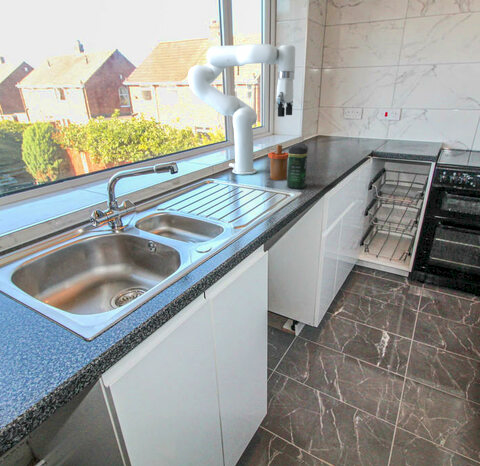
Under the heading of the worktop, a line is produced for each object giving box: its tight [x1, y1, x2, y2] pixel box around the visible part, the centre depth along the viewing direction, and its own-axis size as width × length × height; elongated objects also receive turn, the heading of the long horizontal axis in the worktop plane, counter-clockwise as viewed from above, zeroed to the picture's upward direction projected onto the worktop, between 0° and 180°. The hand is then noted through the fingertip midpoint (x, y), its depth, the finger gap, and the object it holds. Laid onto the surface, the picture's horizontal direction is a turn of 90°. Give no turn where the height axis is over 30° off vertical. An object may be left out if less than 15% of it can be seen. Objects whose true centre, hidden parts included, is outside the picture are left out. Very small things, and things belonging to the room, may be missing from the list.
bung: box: [267, 151, 288, 159], centre depth 156 cm, size 10×10×2 cm
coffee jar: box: [286, 143, 309, 190], centre depth 144 cm, size 10×8×19 cm
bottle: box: [269, 144, 288, 181], centre depth 158 cm, size 8×8×16 cm
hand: (285, 115), depth 157 cm, fingers open, 9 cm apart
